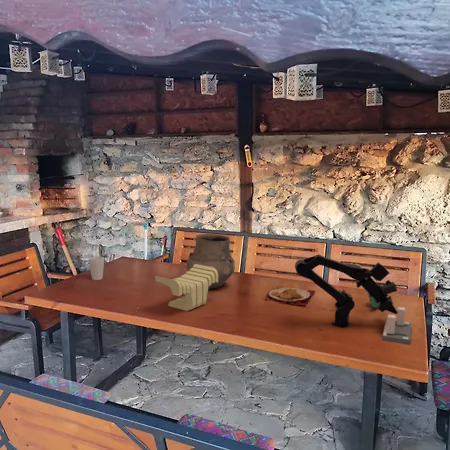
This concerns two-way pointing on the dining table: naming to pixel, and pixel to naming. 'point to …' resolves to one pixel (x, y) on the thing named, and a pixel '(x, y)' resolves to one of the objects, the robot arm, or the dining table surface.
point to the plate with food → (290, 295)
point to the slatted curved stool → (191, 286)
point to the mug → (373, 302)
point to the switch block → (398, 333)
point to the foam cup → (96, 267)
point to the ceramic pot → (213, 256)
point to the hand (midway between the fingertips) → (396, 313)
